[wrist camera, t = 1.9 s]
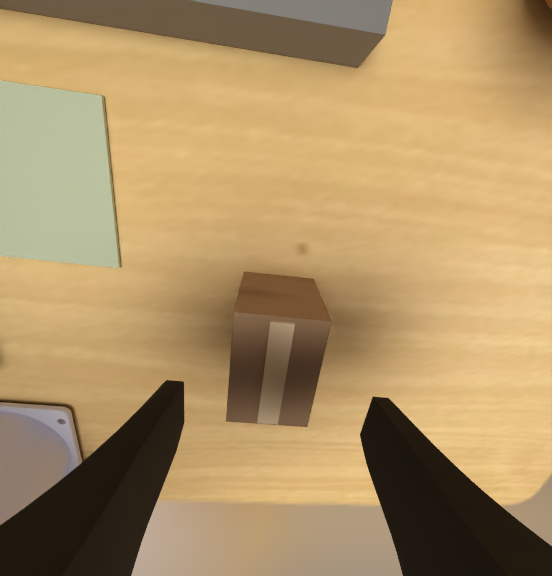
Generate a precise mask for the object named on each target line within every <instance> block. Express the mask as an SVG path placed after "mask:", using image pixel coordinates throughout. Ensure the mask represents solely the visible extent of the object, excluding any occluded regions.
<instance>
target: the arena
mask: <svg viewBox="0 0 552 576" xmlns="http://www.w3.org/2000/svg"><path fill="white" fill-rule="evenodd" d="M392 1H393V0H0V8H2V9H8V10H14V11H20V12H26V13H32V14H38V15H44V16H50V17H56V18H62V19H68V20H74V21H80V22H86V23H93V24H99V25H105V26H111V27H117V28H123V29H129V30H135V31H141V32H147V33H153V34H159V35H165V36H171V37H177V38H183V39H189V40H195V41H201V42H207V43H213V44H219V45H225V46H231V47H237V48H243V49H249V50H255V51H261V52H267V53H273V54H279V55H285V56H291V57H297V58H303V59H309V60H315V61H321V62H327V63H333V64H339V65H345V66H351V67H357V68H358V67H359V66H360V65H361V63H362V62H363V61H364V60H365V59H366V57H367V56H368V55H369V54H370V53H371V51H372V50H373V49H374V48H375V46H376V45H377V44H378V43H379V42H380V40H381V39H382V38H383V37H384V36H385V34H386V29H387V24H388V20H389V15H390V11H391V6H392ZM0 256H6V257H15V258H25V259H34V260H44V261H54V262H63V263H73V264H82V265H92V266H101V267H111V268H121V262H120V252H119V242H118V232H117V222H116V212H115V202H114V192H113V182H112V172H111V162H110V152H109V142H108V132H107V122H106V111H105V101H104V96H102V95H95V94H88V93H82V92H75V91H68V90H61V89H55V88H48V87H41V86H34V85H28V84H21V83H14V82H7V81H1V80H0Z"/></svg>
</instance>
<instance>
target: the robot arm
mask: <svg viewBox="0 0 552 576" xmlns="http://www.w3.org/2000/svg"><path fill="white" fill-rule="evenodd" d="M183 425H184V382H182V381H169V380H167V381H165V382H164V383H163V384H162V385H161V386H160V388H159V389H158V390H157V391H156V392H155V393H154V394H153V395H152V396H151V397H150V398H149V399H148V400H147V402H146V403H145V404H144V405H143V406H142V407H141V408H140V409H139V410H138V411H137V412H136V413H135V414H134V415H133V416H132V417H131V418H130V419H129V420H128V421H127V422H126V423H125V424H124V425H123V426H122V427H121V428H120V429H119V430H118V431H116V432H115V433H114V434H113V435H112V436H111V437H110V438H109V439H108V440H107V441H106V442H104V443H103V444H102V445H101V446H100V447H99V448H98V449H97V450H96V451H95V452H93V453H92V454H91V455H90V456H89V457H88V458H87V459H85V460H84V461H83V462H82V459H81V454H80V450H79V445H78V440H77V436H76V431H75V427H74V422H73V418H72V413H71V411H70V409H68V408H67V407H62V406H47V405H33V404H18V403H4V402H0V576H131V574H132V571H133V568H134V564H135V561H136V558H137V554H138V551H139V548H140V545H141V542H142V539H143V536H144V533H145V531H146V528H147V525H148V522H149V520H150V517H151V515H152V512H153V509H154V507H155V504H156V502H157V499H158V497H159V494H160V492H161V489H162V487H163V484H164V482H165V479H166V476H167V474H168V471H169V469H170V466H171V463H172V461H173V458H174V456H175V453H176V450H177V447H178V443H179V440H180V436H181V432H182V429H183ZM360 437H361V441H362V446H363V451H364V455H365V459H366V463H367V466H368V469H369V472H370V475H371V478H372V481H373V484H374V487H375V490H376V493H377V495H378V498H379V501H380V504H381V507H382V510H383V512H384V515H385V518H386V521H387V524H388V527H389V529H390V533H391V535H392V539H393V542H394V545H395V548H396V551H397V555H398V559H399V562H400V566H401V570H402V574H403V576H552V546H551V545H549V544H548V543H547V542H545V541H544V540H543V539H541V538H540V537H539V536H537V535H536V534H535V533H534V532H532V531H531V530H530V529H529V528H527V527H526V526H525V525H523V524H522V523H521V522H519V521H518V520H517V519H516V518H515V517H513V516H512V515H511V514H510V513H508V512H507V511H506V510H505V509H504V508H502V507H501V506H500V505H499V504H498V503H497V502H495V501H494V500H493V499H492V498H491V497H489V496H488V495H487V494H486V493H485V492H484V491H482V490H481V489H480V488H479V487H478V486H477V485H476V484H475V483H473V482H472V481H471V480H470V479H469V478H468V477H467V476H466V475H465V474H464V473H463V472H461V471H460V470H459V469H458V468H457V467H456V466H455V465H454V464H453V463H452V462H451V461H450V460H449V459H448V458H447V457H446V456H445V455H444V454H443V453H442V452H440V451H439V450H438V449H437V448H436V447H435V446H434V445H433V444H432V443H431V442H430V440H429V439H428V438H427V437H426V436H425V435H424V434H423V433H422V432H421V431H420V430H419V429H418V428H417V427H416V426H415V425H414V424H413V423H412V422H411V421H410V420H409V419H408V418H407V417H406V416H405V415H404V414H403V413H402V412H401V410H400V409H399V408H398V407H397V406H396V405H395V404H394V403H393V402H392V401H391V400H390V399H389V398H381V397H373V398H372V401H371V404H370V407H369V410H368V413H367V416H366V419H365V422H364V424H363V427H362V430H361V433H360Z"/></svg>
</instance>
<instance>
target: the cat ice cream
mask: <svg viewBox="0 0 552 576" xmlns="http://www.w3.org/2000/svg"><path fill="white" fill-rule="evenodd" d="M545 2H546V4H547V5H548V7H549V8H551V9H552V0H545Z"/></svg>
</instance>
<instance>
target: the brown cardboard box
mask: <svg viewBox="0 0 552 576" xmlns="http://www.w3.org/2000/svg"><path fill="white" fill-rule="evenodd" d="M330 326H331V319H330V317H329V315H328V312H327V310H326V308H325V305H324V303H323V301H322V298H321V296H320V294H319V291H318V289H317V287H316V284H315V282H314V280H313V279H308V278H299V277H289V276H280V275H271V274H261V273H252V272H244V274H243V278H242V282H241V286H240V290H239V294H238V298H237V302H236V306H235V310H234V318H233V332H232V346H231V360H230V374H229V388H228V402H227V416H226V421H227V422H241V423H256V424H271V425H285V426H300V427H307V426H308V422H309V417H310V413H311V409H312V404H313V400H314V396H315V391H316V387H317V383H318V378H319V374H320V370H321V365H322V361H323V356H324V352H325V348H326V343H327V339H328V335H329V330H330Z"/></svg>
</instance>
